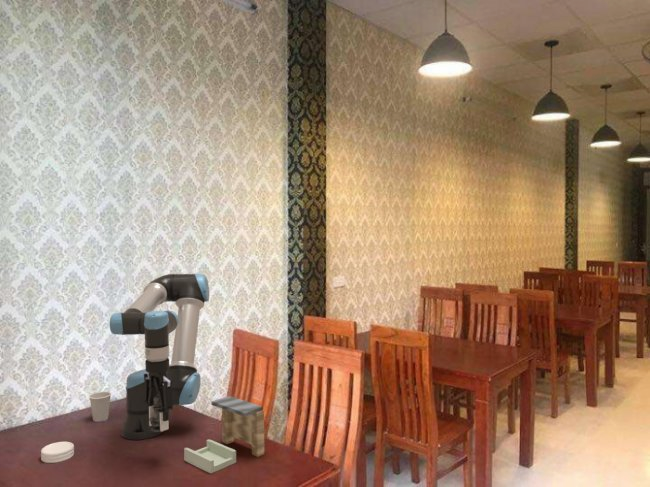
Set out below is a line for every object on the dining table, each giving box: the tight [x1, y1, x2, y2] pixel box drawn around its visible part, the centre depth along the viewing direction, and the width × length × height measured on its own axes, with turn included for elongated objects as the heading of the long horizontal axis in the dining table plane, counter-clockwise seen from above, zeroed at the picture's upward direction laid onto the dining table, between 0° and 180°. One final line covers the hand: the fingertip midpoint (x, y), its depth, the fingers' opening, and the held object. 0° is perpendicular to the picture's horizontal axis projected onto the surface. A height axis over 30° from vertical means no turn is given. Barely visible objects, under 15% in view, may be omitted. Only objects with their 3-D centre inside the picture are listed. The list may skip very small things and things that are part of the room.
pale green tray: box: [183, 438, 237, 475], centre depth 171 cm, size 14×10×4 cm
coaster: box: [40, 441, 75, 464], centre depth 176 cm, size 10×10×4 cm
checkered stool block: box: [211, 395, 265, 457], centre depth 180 cm, size 19×8×16 cm, turn 49°
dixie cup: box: [88, 391, 112, 423], centre depth 210 cm, size 8×8×10 cm
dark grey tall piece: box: [149, 394, 161, 432], centre depth 171 cm, size 6×6×12 cm
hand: (158, 427), depth 172 cm, fingers closed on dark grey tall piece, 6 cm apart
